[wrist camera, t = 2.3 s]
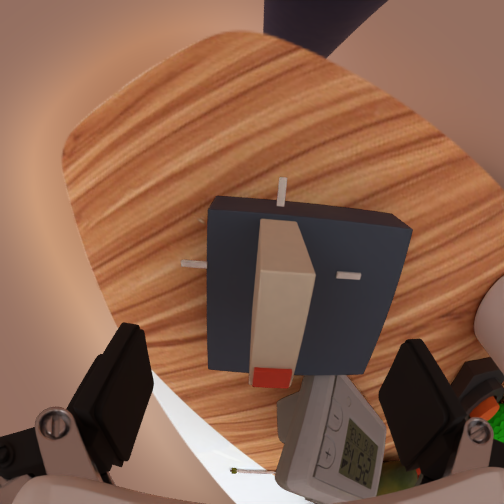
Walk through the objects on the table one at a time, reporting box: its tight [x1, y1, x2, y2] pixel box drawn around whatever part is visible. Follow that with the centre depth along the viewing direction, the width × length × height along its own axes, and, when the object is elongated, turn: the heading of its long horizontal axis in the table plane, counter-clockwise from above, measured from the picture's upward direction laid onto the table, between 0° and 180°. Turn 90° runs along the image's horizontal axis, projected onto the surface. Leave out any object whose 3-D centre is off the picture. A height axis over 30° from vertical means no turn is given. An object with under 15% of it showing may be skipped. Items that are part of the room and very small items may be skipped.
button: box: [469, 396, 499, 421], centre depth 20 cm, size 4×4×2 cm
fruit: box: [376, 461, 417, 496], centre depth 27 cm, size 12×12×10 cm
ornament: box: [487, 403, 504, 443], centre depth 23 cm, size 8×8×10 cm
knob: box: [249, 219, 316, 388], centre depth 13 cm, size 6×2×6 cm, turn 176°
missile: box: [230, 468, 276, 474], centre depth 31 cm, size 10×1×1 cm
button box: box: [451, 357, 504, 421], centre depth 23 cm, size 9×8×4 cm
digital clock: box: [275, 375, 386, 504], centre depth 20 cm, size 16×9×11 cm, turn 24°
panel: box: [181, 177, 413, 375], centre depth 17 cm, size 13×12×3 cm
